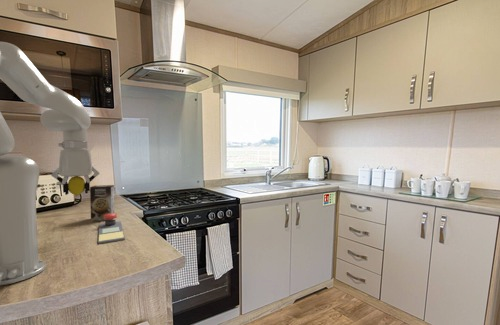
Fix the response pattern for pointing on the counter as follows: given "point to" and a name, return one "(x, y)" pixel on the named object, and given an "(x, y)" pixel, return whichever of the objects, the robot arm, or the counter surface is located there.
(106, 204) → the coffee box
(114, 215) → the button
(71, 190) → the lemon
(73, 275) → the counter surface
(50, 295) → the counter surface
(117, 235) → the board
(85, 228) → the counter surface
